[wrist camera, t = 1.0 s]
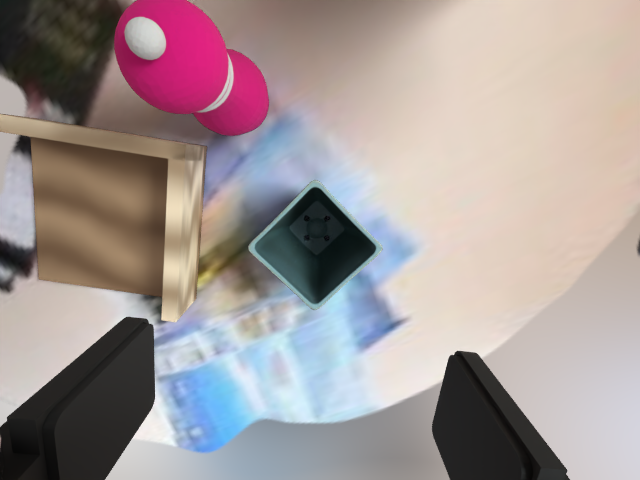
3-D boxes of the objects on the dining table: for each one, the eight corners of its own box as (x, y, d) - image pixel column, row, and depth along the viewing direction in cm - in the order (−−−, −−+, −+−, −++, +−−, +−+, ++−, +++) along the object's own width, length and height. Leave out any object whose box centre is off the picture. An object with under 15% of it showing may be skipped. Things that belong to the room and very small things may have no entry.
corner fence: (29, 117, 34) (-19, 111, 29) (204, 146, 35) (185, 144, 30) (38, 279, 38) (-2, 297, 33) (193, 301, 39) (176, 322, 34)
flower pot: (261, 227, 38) (244, 248, 29) (316, 172, 36) (315, 177, 27) (315, 278, 39) (315, 313, 31) (370, 227, 38) (385, 249, 29)
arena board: (35, 118, 35) (29, 117, 34) (206, 146, 35) (204, 146, 35) (44, 276, 39) (38, 279, 38) (196, 298, 40) (193, 301, 39)
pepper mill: (256, 51, 33) (167, -94, 14) (284, 122, 35) (242, 80, 15) (192, 81, 34) (22, -20, 14) (223, 148, 35) (108, 139, 16)
